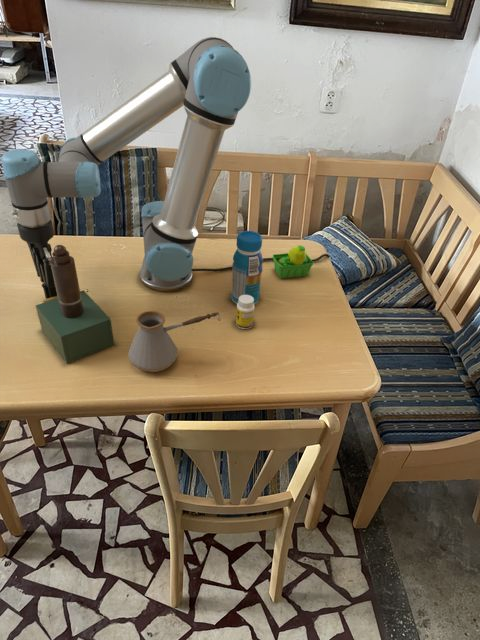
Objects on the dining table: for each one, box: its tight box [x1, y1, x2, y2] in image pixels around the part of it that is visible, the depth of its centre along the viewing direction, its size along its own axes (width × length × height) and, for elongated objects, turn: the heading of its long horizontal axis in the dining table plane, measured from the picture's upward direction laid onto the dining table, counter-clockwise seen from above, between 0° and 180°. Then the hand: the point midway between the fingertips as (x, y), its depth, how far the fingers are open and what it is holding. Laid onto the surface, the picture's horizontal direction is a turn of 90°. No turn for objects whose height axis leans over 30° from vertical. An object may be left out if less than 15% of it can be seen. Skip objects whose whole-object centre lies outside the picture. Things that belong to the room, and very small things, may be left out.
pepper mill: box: [50, 244, 84, 318], centre depth 110 cm, size 5×5×18 cm
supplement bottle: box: [235, 295, 256, 330], centre depth 129 cm, size 5×5×8 cm
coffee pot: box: [127, 310, 221, 373], centre depth 113 cm, size 21×12×15 cm, turn 95°
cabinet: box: [35, 290, 115, 364], centre depth 119 cm, size 15×12×8 cm
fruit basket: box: [272, 244, 314, 279], centre depth 150 cm, size 11×9×11 cm
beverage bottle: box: [230, 230, 264, 305], centre depth 134 cm, size 8×8×20 cm
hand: (53, 304), depth 128 cm, fingers closed
